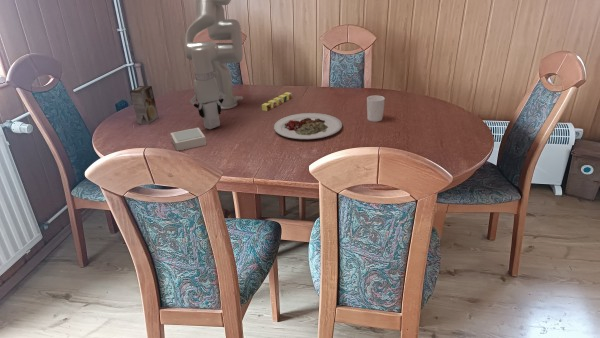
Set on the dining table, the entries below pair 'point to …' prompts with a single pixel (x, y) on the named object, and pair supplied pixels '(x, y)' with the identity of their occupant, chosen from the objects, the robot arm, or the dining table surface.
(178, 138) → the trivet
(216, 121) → the skincare box
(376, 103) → the white cup
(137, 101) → the coffee box
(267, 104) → the yellow segmented block row
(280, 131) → the plated food
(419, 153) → the dining table surface
